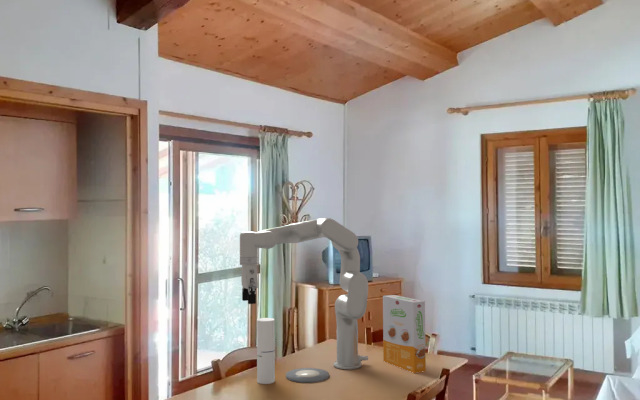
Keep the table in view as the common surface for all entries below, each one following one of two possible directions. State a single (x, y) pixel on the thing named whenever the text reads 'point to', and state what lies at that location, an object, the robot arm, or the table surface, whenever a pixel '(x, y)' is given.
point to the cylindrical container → (265, 350)
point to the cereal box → (404, 332)
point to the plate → (307, 375)
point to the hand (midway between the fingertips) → (248, 302)
